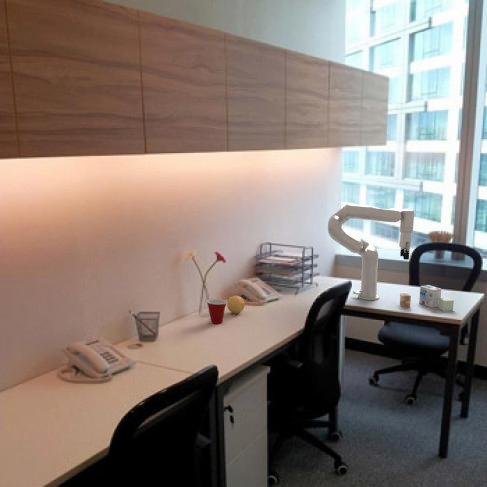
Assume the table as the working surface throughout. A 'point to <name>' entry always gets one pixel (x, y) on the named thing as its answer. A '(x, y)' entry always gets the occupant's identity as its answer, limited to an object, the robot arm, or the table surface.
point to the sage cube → (445, 304)
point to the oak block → (405, 300)
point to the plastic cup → (216, 310)
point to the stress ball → (235, 304)
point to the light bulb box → (429, 295)
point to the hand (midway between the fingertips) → (404, 257)
